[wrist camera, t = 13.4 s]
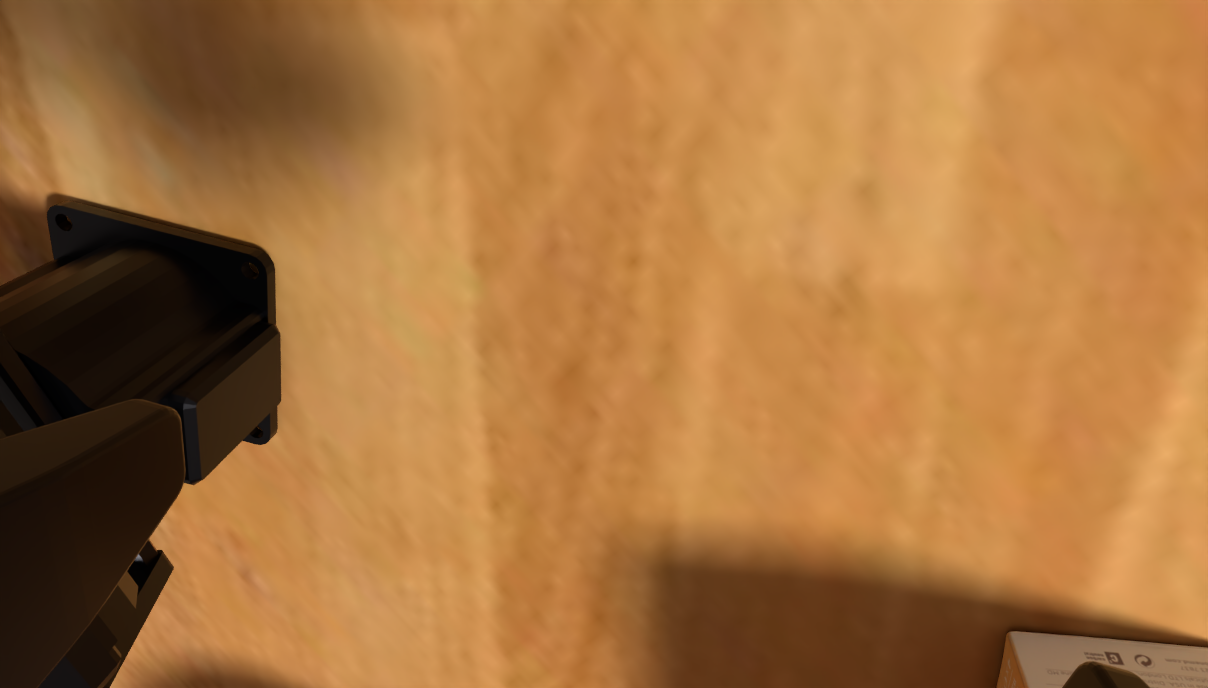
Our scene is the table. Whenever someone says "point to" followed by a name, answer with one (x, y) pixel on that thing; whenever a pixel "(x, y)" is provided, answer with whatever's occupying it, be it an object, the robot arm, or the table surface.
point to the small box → (1098, 660)
